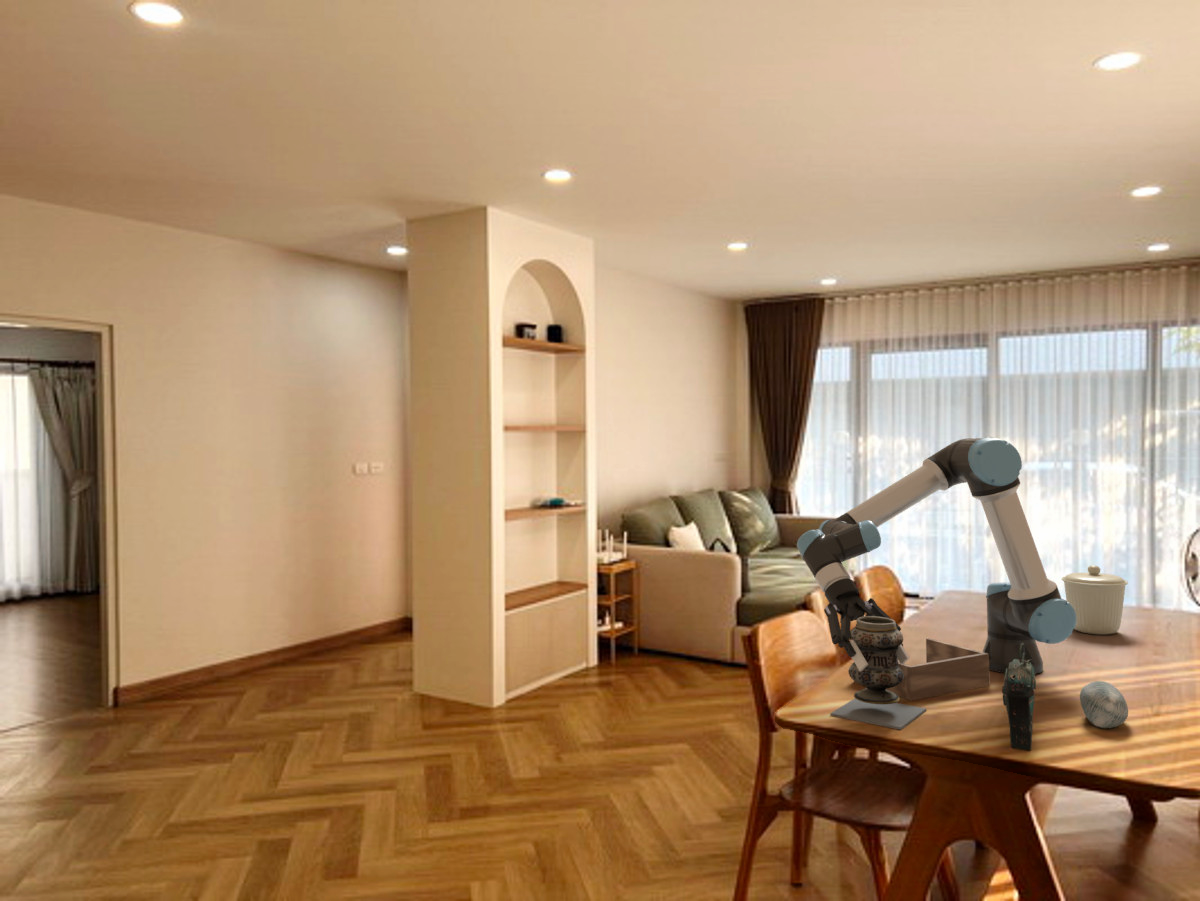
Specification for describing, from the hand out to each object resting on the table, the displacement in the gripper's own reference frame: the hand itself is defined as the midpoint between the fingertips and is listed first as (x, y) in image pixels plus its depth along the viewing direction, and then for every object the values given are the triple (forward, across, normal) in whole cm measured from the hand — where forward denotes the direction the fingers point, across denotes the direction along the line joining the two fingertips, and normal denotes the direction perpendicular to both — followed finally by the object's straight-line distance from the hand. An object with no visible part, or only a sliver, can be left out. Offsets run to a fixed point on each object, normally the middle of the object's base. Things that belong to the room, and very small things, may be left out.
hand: (885, 664), depth 187 cm
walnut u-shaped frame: (-2, -27, -19) cm, 33 cm away
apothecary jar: (+4, 0, -8) cm, 9 cm away
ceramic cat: (+24, -15, +8) cm, 30 cm away
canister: (-13, -117, -30) cm, 122 cm away
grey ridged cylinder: (+26, -38, +9) cm, 47 cm away
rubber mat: (+7, 0, -10) cm, 12 cm away
